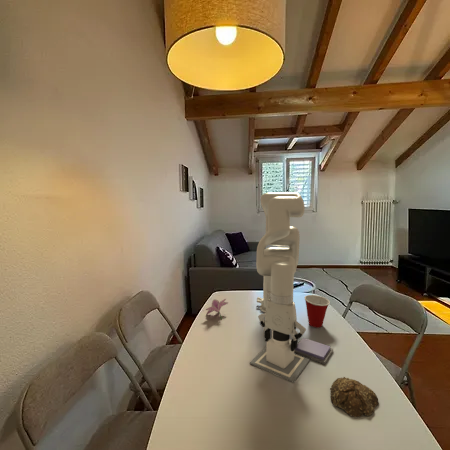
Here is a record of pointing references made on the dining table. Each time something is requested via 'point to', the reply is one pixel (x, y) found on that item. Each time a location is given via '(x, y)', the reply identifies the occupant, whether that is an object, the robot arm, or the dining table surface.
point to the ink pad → (313, 350)
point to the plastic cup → (316, 309)
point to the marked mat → (288, 373)
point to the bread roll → (353, 397)
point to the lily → (216, 306)
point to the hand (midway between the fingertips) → (280, 344)
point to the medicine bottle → (279, 350)
